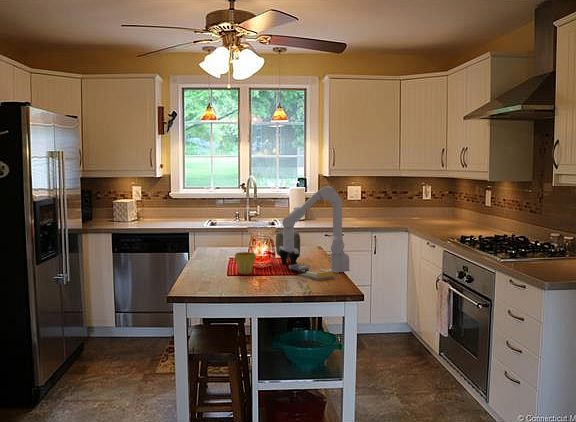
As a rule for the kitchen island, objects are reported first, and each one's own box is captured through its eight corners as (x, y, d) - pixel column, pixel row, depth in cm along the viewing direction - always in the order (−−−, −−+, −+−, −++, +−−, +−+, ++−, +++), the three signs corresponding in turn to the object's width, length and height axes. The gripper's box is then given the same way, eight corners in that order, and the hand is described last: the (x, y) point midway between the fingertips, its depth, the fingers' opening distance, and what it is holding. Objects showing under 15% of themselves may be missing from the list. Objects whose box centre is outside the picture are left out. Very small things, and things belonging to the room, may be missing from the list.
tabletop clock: (300, 265, 292) (300, 219, 289) (284, 266, 288) (284, 220, 286) (290, 260, 305) (290, 217, 303) (275, 261, 302) (275, 217, 299)
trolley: (298, 270, 279) (298, 263, 278) (309, 272, 272) (309, 265, 271) (288, 271, 275) (288, 264, 274) (299, 274, 268) (299, 267, 267)
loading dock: (312, 272, 272) (312, 265, 272) (333, 277, 260) (333, 270, 259) (297, 274, 266) (297, 267, 266) (317, 280, 254) (317, 273, 253)
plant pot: (255, 270, 277) (255, 251, 276) (255, 274, 267) (255, 255, 266) (235, 270, 277) (235, 251, 276) (234, 274, 267) (234, 255, 266)
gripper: (274, 238, 282) (274, 264, 283) (290, 242, 271) (290, 268, 272) (285, 237, 286) (285, 262, 288) (301, 240, 275) (301, 267, 276)
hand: (288, 265), depth 280 cm, fingers open, 7 cm apart
